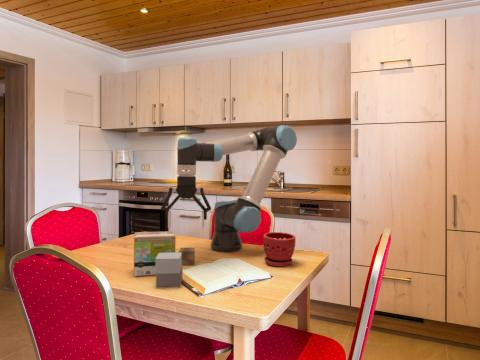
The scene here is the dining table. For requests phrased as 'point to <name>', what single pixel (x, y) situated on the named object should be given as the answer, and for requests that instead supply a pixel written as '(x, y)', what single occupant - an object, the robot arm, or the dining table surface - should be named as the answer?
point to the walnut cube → (188, 256)
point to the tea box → (151, 250)
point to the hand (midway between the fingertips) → (186, 227)
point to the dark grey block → (169, 280)
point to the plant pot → (279, 248)
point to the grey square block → (168, 263)
